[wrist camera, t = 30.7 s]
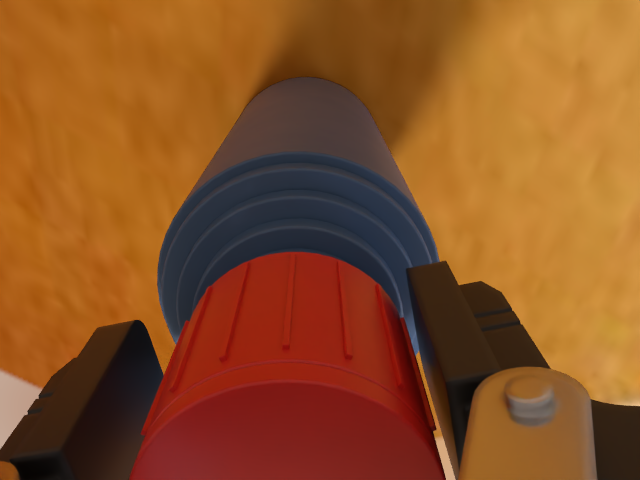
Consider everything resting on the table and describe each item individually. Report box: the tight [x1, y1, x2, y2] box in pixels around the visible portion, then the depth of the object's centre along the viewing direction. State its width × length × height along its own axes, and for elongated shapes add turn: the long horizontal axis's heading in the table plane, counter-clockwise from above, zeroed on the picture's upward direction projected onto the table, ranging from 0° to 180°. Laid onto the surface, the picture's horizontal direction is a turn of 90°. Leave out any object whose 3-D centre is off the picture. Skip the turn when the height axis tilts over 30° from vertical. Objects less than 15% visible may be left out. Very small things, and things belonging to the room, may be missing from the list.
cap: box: [129, 252, 446, 480], centre depth 9 cm, size 4×4×4 cm
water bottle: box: [157, 77, 440, 355], centre depth 17 cm, size 6×6×18 cm
